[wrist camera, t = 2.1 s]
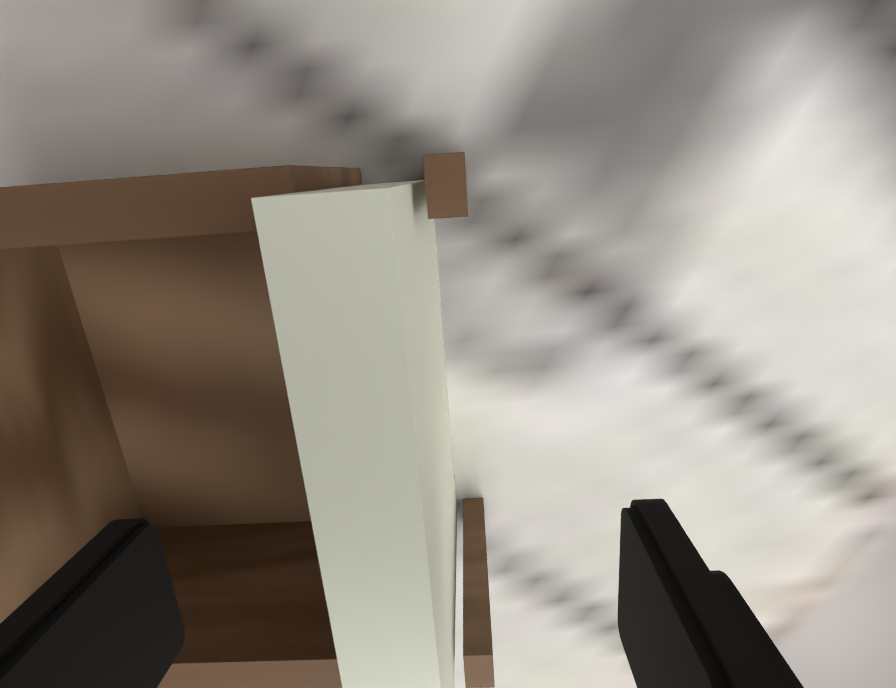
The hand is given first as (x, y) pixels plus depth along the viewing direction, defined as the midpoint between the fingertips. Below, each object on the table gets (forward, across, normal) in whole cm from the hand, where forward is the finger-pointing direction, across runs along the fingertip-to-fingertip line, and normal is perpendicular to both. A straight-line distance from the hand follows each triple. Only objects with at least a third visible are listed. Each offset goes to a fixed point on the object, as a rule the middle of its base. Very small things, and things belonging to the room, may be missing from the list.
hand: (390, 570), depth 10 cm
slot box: (+9, +6, -1) cm, 11 cm away
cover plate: (+9, 0, -1) cm, 9 cm away
